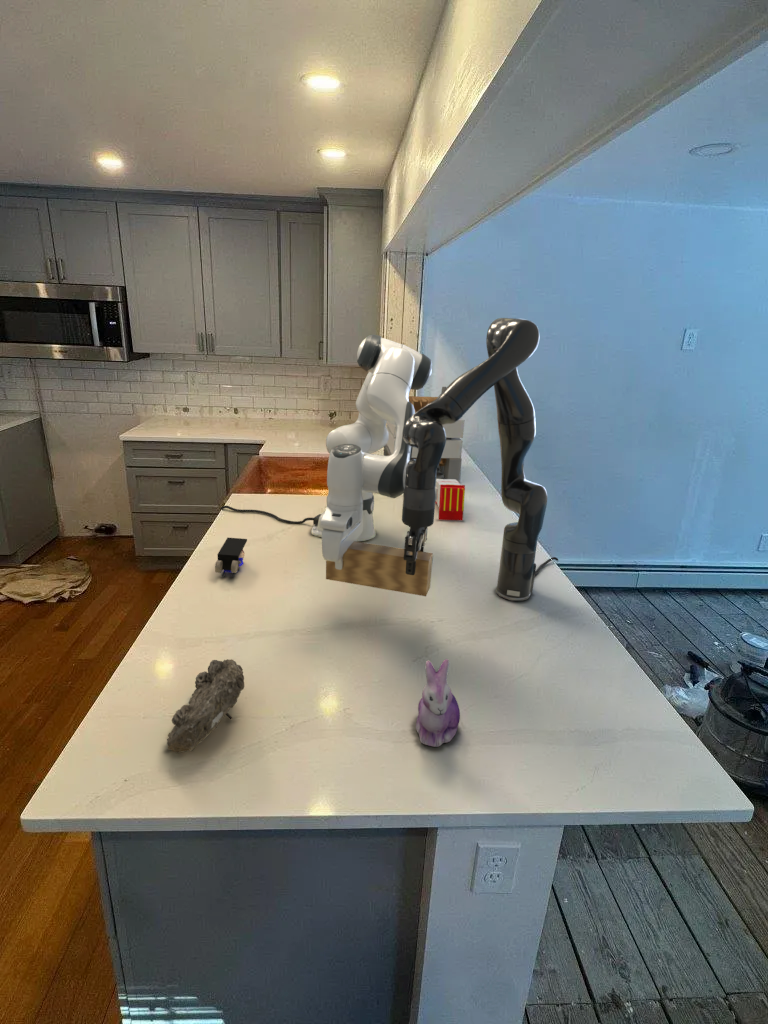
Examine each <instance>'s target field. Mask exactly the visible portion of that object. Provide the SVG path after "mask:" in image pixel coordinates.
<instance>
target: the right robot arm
mask: <svg viewBox="0 0 768 1024" xmlns="http://www.w3.org/2000/svg"><path fill="white" fill-rule="evenodd" d="M540 335H541V334H540V330H539V328H538V325H537V324H536V323H535V322H533V320H528V319H525V318H516V317H515V318H513V317H499V318H497V319H494V320H493V321H491V323H490V325H489V326H488V329H487V332H486V338H485V339H486V340H485V341H486V342H485V343H486V351H487V356H488V358H486V359H485V360H483V361H482V362H480V363H479V364H478V365H476V366H474V367H473V368H471V369H469V370H467V371H465V372H463V373H462V374H460V375H459V376H458V377H457V378H455V379H454V380H453V381H451V383H450V384H449V385H447V386H446V387H447V388H446V389H445V390H444V391H443V392H442V391H441V392H442V393H441V392H440V394H439V395H438V396H437V397H438V398H437V399H436V400H434V401H433V402H431V403H429V404H428V405H426V406H425V407H423V408H422V409H420V410H419V411H417V412H416V413H415V414H413V415H412V416H411V417H410V418H409V419H408V420H407V422H406V423H405V425H404V428H403V432H402V436H403V439H404V441H405V442H406V443H407V444H408V445H410V446H412V447H414V448H417V449H418V454H417V458H416V459H412V460H410V461H409V462H408V463H407V467H406V479H405V489H404V493H403V494H402V496H403V498H402V509H401V510H402V511H401V522H402V524H404V525H405V526H407V527H409V530H407V532H406V535H405V537H404V548H403V549H404V557H403V558H404V560H406V574H408V575H414V574H415V570H416V560H417V554H418V552H420V551H421V552H425V550H424V549H425V546H426V543H427V540H428V528H429V527H431V526H432V525H433V524H434V522H435V511H436V503H435V499H436V491H435V486H436V479H437V474H438V473H437V472H438V471H437V470H438V468H437V467H438V465H439V462H440V460H441V457H442V454H443V451H444V448H445V444H446V433H445V430H444V427H443V426H442V425H444V424H452V423H455V422H457V421H458V420H459V419H460V418H463V416H464V415H465V414H466V413H467V412H468V411H469V410H470V409H471V408H472V406H473V405H474V404H475V403H477V401H479V399H480V398H481V397H482V396H483V395H485V393H487V392H488V391H489V390H490V389H491V388H492V387H493V389H494V397H495V405H496V421H497V429H498V436H499V438H498V439H499V446H500V447H499V448H500V449H499V450H500V463H501V478H500V479H501V480H500V481H501V483H500V484H501V486H500V487H501V489H500V491H501V493H500V494H501V495H500V496H501V500H502V504H503V506H504V507H505V508H506V509H507V510H509V511H511V512H513V513H516V514H517V515H519V516H518V521H517V522H516V521H515V522H509V523H507V524H506V525H505V526H504V528H503V534H502V535H503V536H502V543H501V551H500V558H499V559H500V560H499V567H498V575H497V582H496V587H495V588H496V589H495V592H496V594H497V595H498V596H499V597H501V598H503V599H505V600H507V601H512V602H523V601H526V600H528V599H530V596H531V595H533V590H534V583H535V577H536V575H537V574H539V572H540V571H541V570H542V568H543V567H544V566H546V565H547V564H549V563H550V562H551V561H554V560H555V561H557V562H558V561H559V559H558V557H556V556H553V557H550V558H551V559H552V560H551V559H550V558H548V559H547V560H545V561H544V562H543V563H542V564H540V565H539V566H538V567H537V564H536V563H535V561H536V553H537V546H538V540H539V535H540V533H541V531H542V529H543V524H544V520H545V515H546V511H547V506H548V491H547V489H546V487H545V486H543V485H541V484H539V483H537V482H533V481H531V480H528V479H526V475H525V458H526V456H527V454H528V452H529V451H530V449H531V447H532V446H533V444H534V441H535V438H536V435H537V424H536V412H535V411H536V410H535V407H534V404H533V402H532V399H531V398H530V395H529V393H528V392H527V389H525V386H524V384H523V383H522V381H521V378H520V375H519V371H518V367H519V366H520V365H522V364H523V363H525V362H526V361H527V360H528V359H529V358H530V357H531V356H533V354H534V353H535V351H537V349H538V346H539V343H540ZM409 552H412V553H413V554H412V555H409Z"/></svg>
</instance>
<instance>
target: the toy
mask: <svg viewBox="0 0 768 1024" xmlns="http://www.w3.org/2000/svg"><path fill="white" fill-rule="evenodd" d="M435 491H436V499H435V505H437V507H438V521H464V520H463V519H464V511H465V510H464V509H465V494H466V485H465V484H461V482H458V481H457V480H456V479H445V478H436V486H435Z"/></svg>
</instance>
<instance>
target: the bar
mask: <svg viewBox="0 0 768 1024" xmlns="http://www.w3.org/2000/svg"><path fill="white" fill-rule="evenodd" d="M412 554H413V553H412V552H409V555H412ZM403 557H404V548H401V547H396V546H395V547H394V546H388V545H382V544H381V545H380V544H376V543H367V542H363V541H357V542H356V541H354V542H353V543H352V544H351V545H350V546H349V548H348V550H347V551H346V552H345V553H344V555H343V557H342V559H343V561H344V567H343V568H342V569H341V570H339V569H336V568H335V562H333V561H327V560H325V580H329V581H333V582H334V581H335V582H341V583H344V584H345V583H346V584H352V585H357V586H363V587H369V588H375V589H381V590H387V591H392V592H399V593H405V594H411V595H416V596H422V597H427V595H428V593H429V591H430V588H431V580H432V569H433V557H434V554H433V552H429V551H424V552H421V551H420V552H418V554H417V560H416V570H415V574H414V575H408V574H406V560H404V558H403Z"/></svg>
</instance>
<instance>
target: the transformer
mask: <svg viewBox="0 0 768 1024" xmlns="http://www.w3.org/2000/svg"><path fill="white" fill-rule="evenodd" d="M447 387H448V386H442V387H441V392H440V394H441V393H442V392H443V391H444V390H445V389H446V388H447ZM437 398H438V396H415V395H414V396H413V395H412V396H411V395H409V402H410V403H412V404H413V406H414V409H415V413H416V412H417V411H419V410H420V409H422V408H423V407H425V406H426V405H428V404H429V403H431V402H433V401H434V400H436V399H437ZM442 426H443V427H444V430H445V433H446V444H445V448H444V451H443V454H442V457H441V460H440V462H439V465H438V467H437V470H438V469H439V473H440V474H441V475H443V479H456V480H457V481H458V482H459V483H461V472H462V461H463V460H462V453H463V442H464V441H463V440H462V439H463V438H464V431H465V430H464V429H465V419H464V418H463V417H461V418H460V419H459V420H458V421H457V422H455V423H452V424H444V425H442ZM386 428H387V430H388V434H389V438H388V442H387V444H386V445H385V446H384V447H383V456H390V455H392V454H393V453H394V447H395V439H396V431H397V427H396V426H395V425H393V424H392V423H390V422H388V421H386ZM417 454H418V449H417V448H414V447H413V448H412V457H411V460H412V459H416V458H417Z"/></svg>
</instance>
